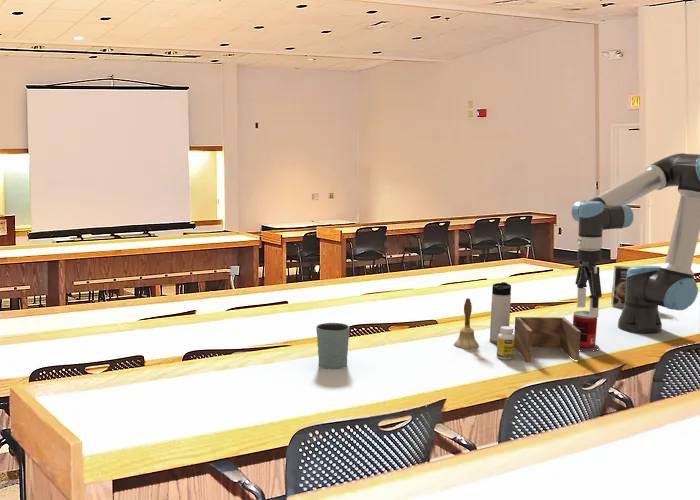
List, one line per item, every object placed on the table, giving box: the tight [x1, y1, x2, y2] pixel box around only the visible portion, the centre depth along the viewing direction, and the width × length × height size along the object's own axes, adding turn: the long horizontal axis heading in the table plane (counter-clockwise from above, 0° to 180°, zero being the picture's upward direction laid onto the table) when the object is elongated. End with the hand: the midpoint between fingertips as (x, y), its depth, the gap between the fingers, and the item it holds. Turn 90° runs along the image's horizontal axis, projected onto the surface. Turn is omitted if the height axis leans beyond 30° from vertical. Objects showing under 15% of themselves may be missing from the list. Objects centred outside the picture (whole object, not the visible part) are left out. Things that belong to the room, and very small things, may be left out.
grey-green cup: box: [316, 322, 351, 370], centre depth 262 cm, size 10×10×12 cm
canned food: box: [572, 310, 598, 349], centre depth 288 cm, size 8×8×11 cm
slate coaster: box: [579, 343, 600, 352], centre depth 289 cm, size 10×10×1 cm
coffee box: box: [610, 265, 631, 309], centre depth 352 cm, size 9×6×16 cm
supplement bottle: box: [496, 325, 515, 361], centre depth 274 cm, size 5×5×10 cm
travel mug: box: [489, 281, 512, 345], centre depth 292 cm, size 6×7×20 cm
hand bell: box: [453, 298, 480, 350], centre depth 287 cm, size 8×8×16 cm
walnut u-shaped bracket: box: [513, 316, 581, 363], centre depth 280 cm, size 16×18×10 cm
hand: (587, 312), depth 288 cm, fingers open, 13 cm apart
